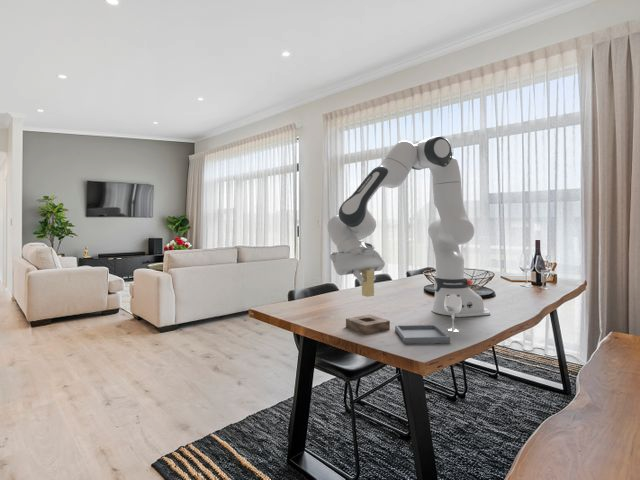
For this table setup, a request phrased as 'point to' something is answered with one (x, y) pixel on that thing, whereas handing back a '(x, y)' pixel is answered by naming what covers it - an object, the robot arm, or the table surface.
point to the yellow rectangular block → (368, 283)
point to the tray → (421, 334)
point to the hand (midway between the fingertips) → (368, 280)
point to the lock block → (367, 324)
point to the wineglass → (453, 308)
